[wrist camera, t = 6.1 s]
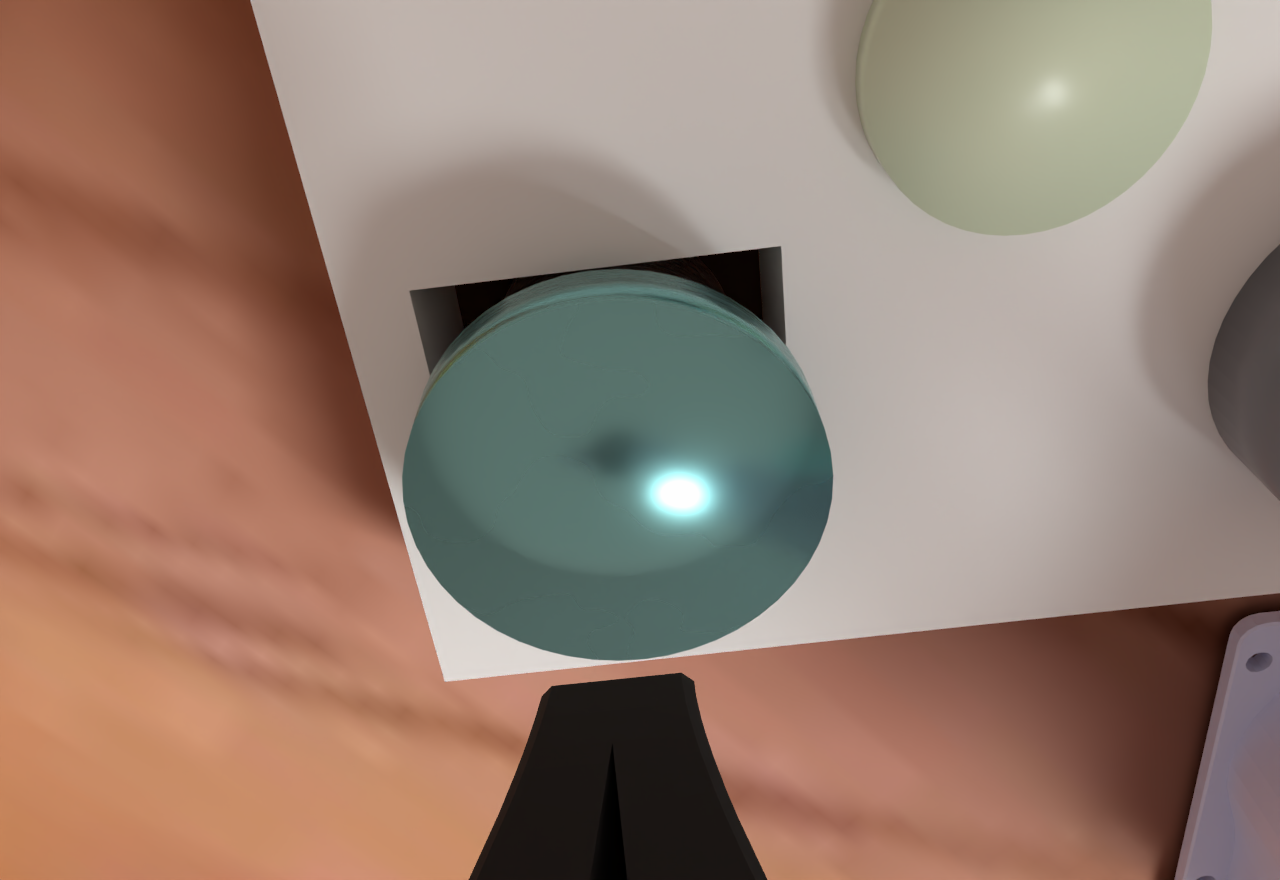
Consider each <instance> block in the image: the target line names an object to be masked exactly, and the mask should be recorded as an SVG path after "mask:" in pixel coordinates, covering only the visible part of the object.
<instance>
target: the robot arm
mask: <svg viewBox="0 0 1280 880" xmlns="http://www.w3.org/2000/svg"><path fill="white" fill-rule="evenodd" d="M1254 654H1257V655H1255V656H1254V657H1252V656H1253V655H1254ZM1250 657H1251V658H1250ZM469 880H767V878H766V876H765V874H764V872H763V870H762V867H761V865H760V863H759V861H758V859H757V857H756V855H755V853H754V850H753V848H752V846H751V844H750V842H749V840H748V838H747V836H746V834H745V831H744V829H743V827H742V825H741V823H740V821H739V819H738V817H737V814H736V812H735V810H734V807H733V805H732V803H731V800H730V798H729V796H728V793H727V791H726V788H725V786H724V783H723V780H722V778H721V775H720V773H719V770H718V767H717V765H716V762H715V760H714V757H713V754H712V751H711V748H710V745H709V742H708V739H707V736H706V733H705V730H704V726H703V723H702V720H701V715H700V711H699V707H698V703H697V698H696V693H695V685H694V681H693V680H691V679H690V678H688V677H687V676H685V675H684V674H682V673H675V674H665V675H655V676H646V677H636V678H626V679H616V680H607V681H597V682H587V683H578V684H568V685H558V686H552V687H551V688H550V689H549V690H548V691H547V692H546V693H545V694H544V695H543V696H542V698H541V701H540V704H539V708H538V711H537V715H536V718H535V721H534V724H533V727H532V730H531V733H530V735H529V738H528V741H527V744H526V747H525V750H524V752H523V755H522V758H521V760H520V763H519V766H518V768H517V771H516V773H515V776H514V778H513V781H512V783H511V786H510V788H509V790H508V793H507V795H506V798H505V800H504V803H503V805H502V808H501V810H500V812H499V815H498V817H497V819H496V821H495V824H494V826H493V828H492V830H491V832H490V834H489V837H488V839H487V841H486V843H485V845H484V848H483V850H482V852H481V854H480V856H479V859H478V861H477V863H476V865H475V867H474V870H473V872H472V874H471V876H470V878H469ZM1174 880H1280V611H1274V612H1264V613H1257V614H1253V615H1249V616H1247V617H1245V618H1243V619H1241V620H1240V621H1239V622H1238V623H1237V624H1236V625H1235V626H1234V627H1233V629H1232V631H1231V633H1230V635H1229V640H1228V644H1227V648H1226V653H1225V657H1224V662H1223V666H1222V671H1221V675H1220V679H1219V684H1218V688H1217V693H1216V697H1215V702H1214V706H1213V711H1212V715H1211V719H1210V724H1209V728H1208V733H1207V737H1206V742H1205V746H1204V750H1203V755H1202V759H1201V764H1200V768H1199V773H1198V777H1197V782H1196V786H1195V790H1194V795H1193V799H1192V804H1191V808H1190V813H1189V817H1188V822H1187V826H1186V830H1185V835H1184V839H1183V844H1182V848H1181V853H1180V857H1179V861H1178V866H1177V870H1176V875H1175V879H1174Z"/></svg>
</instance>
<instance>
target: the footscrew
mask: <svg viewBox="0 0 1280 880" xmlns="http://www.w3.org/2000/svg"><path fill="white" fill-rule="evenodd" d="M402 488H403V503H404V508H405V513H406V518H407V523H408V526H409V528H410V531H411V534H412V537H413V539H414V542H415V545H416V547H417V549H418V551H419V552H420V554H421V556H422V558H423V560H424V562H425V564H426V565H427V567H428V568H429V570H430V571H431V572H432V574H433V575H434V576H435V578H436V579H437V581H438V582H439V583H440V585H441V586H442V587H443V588H444V589H445V590H446V591H447V592H448V593H449V594H450V595H451V596H452V597H453V598H454V599H455V600H456V601H457V602H458V603H459V604H460V605H461V606H463V607H464V608H465V609H466V610H467V611H469V612H470V613H471V614H472V615H474V616H475V617H476V618H478V619H479V620H481V621H482V622H484V623H486V624H487V625H489V626H490V627H492V628H493V629H495V630H497V631H498V632H501V633H503V634H505V635H507V636H509V637H511V638H513V639H515V640H517V641H519V642H522V643H525V644H527V645H530V646H533V647H536V648H538V649H541V650H545V651H549V652H553V653H557V654H561V655H565V656H570V657H577V658H584V659H591V660H612V661H623V660H640V659H649V658H655V657H661V656H668V655H672V654H676V653H679V652H683V651H687V650H691V649H694V648H697V647H700V646H702V645H705V644H708V643H710V642H713V641H716V640H718V639H720V638H722V637H724V636H726V635H728V634H730V633H732V632H734V631H736V630H738V629H739V628H741V627H743V626H744V625H746V624H747V623H749V622H750V621H752V620H753V619H755V618H756V617H758V616H759V615H761V614H762V613H763V612H764V611H766V610H767V609H768V608H769V607H770V606H772V605H773V604H774V603H775V602H776V601H778V600H779V599H780V598H781V596H782V595H783V594H784V593H785V592H786V591H787V590H788V589H789V588H790V587H791V586H792V585H793V584H794V583H795V581H796V580H797V579H798V577H799V576H800V575H801V573H802V572H803V570H804V569H805V568H806V566H807V565H808V563H809V562H810V560H811V558H812V556H813V554H814V552H815V551H816V549H817V547H818V545H819V543H820V540H821V538H822V535H823V532H824V529H825V527H826V524H827V521H828V516H829V511H830V507H831V502H832V492H833V468H832V458H831V451H830V447H829V443H828V440H827V436H826V432H825V428H824V426H823V423H822V420H821V417H820V414H819V411H818V409H817V406H816V403H815V400H814V397H813V394H812V391H811V389H810V387H809V385H808V382H807V380H806V378H805V376H804V373H803V371H802V369H801V367H800V366H799V364H798V363H797V361H796V360H795V358H794V356H793V355H792V353H791V352H790V350H789V349H788V347H787V346H786V345H785V344H784V343H783V342H782V340H781V339H780V338H779V337H778V336H777V335H776V334H775V332H774V331H773V330H772V329H771V328H770V327H769V326H767V325H766V324H765V323H764V322H763V321H762V320H761V319H759V318H758V317H757V316H756V315H755V314H754V313H752V312H751V311H750V310H748V309H747V308H745V307H743V306H742V305H740V304H739V303H737V302H736V301H734V300H733V299H731V298H730V297H728V296H726V295H725V293H724V291H723V289H722V287H721V285H720V283H719V282H718V280H717V279H716V277H715V276H714V274H713V273H712V272H711V271H710V270H709V268H708V267H707V266H706V265H705V264H704V263H703V262H702V261H701V260H700V259H699V258H698V257H697V256H694V257H686V258H677V259H669V260H661V261H652V262H644V263H636V264H627V265H619V266H610V267H602V268H594V269H585V270H577V271H569V272H560V273H552V274H544V275H535V276H527V277H519V278H515V279H514V281H513V282H512V284H511V285H510V287H509V290H508V292H507V294H506V296H505V298H504V300H502V301H500V302H499V303H497V304H496V305H494V306H493V307H491V308H489V309H488V310H486V311H485V312H484V313H482V314H481V315H480V316H479V317H478V318H476V319H475V320H474V321H473V322H472V323H471V324H469V325H468V326H467V327H466V328H465V329H464V330H463V331H462V332H461V333H460V334H459V335H458V337H457V338H456V339H455V340H454V341H453V342H452V343H451V344H450V346H449V347H448V348H447V349H446V351H445V352H444V354H443V355H442V357H441V358H440V360H439V361H438V363H437V364H436V366H435V368H434V369H433V371H432V374H431V376H430V378H429V380H428V382H427V384H426V387H425V389H424V391H423V394H422V397H421V401H420V404H419V407H418V410H417V413H416V417H415V420H414V423H413V426H412V429H411V433H410V436H409V440H408V443H407V447H406V450H405V456H404V464H403V473H402Z"/></svg>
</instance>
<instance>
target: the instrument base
mask: <svg viewBox="0 0 1280 880" xmlns="http://www.w3.org/2000/svg"><path fill="white" fill-rule="evenodd" d="M250 1H251V5H252V8H253V12H254V15H255V19H256V22H257V26H258V29H259V33H260V36H261V40H262V43H263V47H264V50H265V54H266V57H267V61H268V64H269V68H270V71H271V75H272V78H273V82H274V85H275V89H276V92H277V96H278V99H279V103H280V106H281V110H282V113H283V117H284V120H285V124H286V127H287V131H288V134H289V138H290V141H291V145H292V148H293V152H294V155H295V159H296V162H297V166H298V169H299V173H300V176H301V180H302V183H303V187H304V190H305V194H306V197H307V201H308V204H309V208H310V211H311V215H312V218H313V222H314V225H315V229H316V232H317V236H318V239H319V243H320V246H321V250H322V253H323V257H324V260H325V264H326V267H327V271H328V274H329V278H330V281H331V285H332V288H333V292H334V295H335V299H336V302H337V306H338V309H339V313H340V316H341V320H342V323H343V327H344V330H345V334H346V337H347V341H348V344H349V348H350V351H351V355H352V358H353V362H354V365H355V369H356V372H357V376H358V379H359V383H360V386H361V390H362V393H363V397H364V400H365V404H366V407H367V411H368V414H369V418H370V421H371V425H372V428H373V432H374V435H375V439H376V442H377V446H378V449H379V453H380V456H381V460H382V463H383V467H384V470H385V474H386V477H387V481H388V484H389V488H390V491H391V495H392V498H393V502H394V505H395V509H396V512H397V516H398V519H399V523H400V526H401V530H402V533H403V537H404V540H405V544H406V547H407V551H408V554H409V558H410V561H411V565H412V568H413V572H414V575H415V579H416V582H417V586H418V589H419V593H420V596H421V600H422V603H423V607H424V610H425V614H426V617H427V621H428V624H429V628H430V631H431V635H432V638H433V642H434V645H435V649H436V652H437V656H438V659H439V663H440V666H441V670H442V673H443V677H444V680H445V682H447V681H456V680H466V679H475V678H485V677H494V676H503V675H513V674H522V673H532V672H541V671H550V670H560V669H569V668H579V667H588V666H597V665H607V664H616V663H626V662H635V661H645V660H654V659H663V658H673V657H682V656H692V655H701V654H710V653H720V652H729V651H739V650H748V649H757V648H767V647H776V646H786V645H795V644H805V643H814V642H823V641H833V640H842V639H852V638H861V637H870V636H880V635H889V634H899V633H908V632H917V631H927V630H936V629H946V628H955V627H965V626H974V625H983V624H993V623H1002V622H1012V621H1021V620H1030V619H1040V618H1049V617H1059V616H1068V615H1077V614H1087V613H1096V612H1106V611H1115V610H1125V609H1134V608H1143V607H1153V606H1162V605H1172V604H1181V603H1190V602H1200V601H1209V600H1219V599H1228V598H1237V597H1247V596H1256V595H1266V594H1275V593H1280V0H250ZM752 249H758V251H759V267H760V284H761V300H762V316H763V322H764V323H765V324H766V325H767V326H769V327H770V328H771V329H772V330H773V331H774V332H775V334H776V335H777V336H778V337H779V338H780V339H781V340H782V342H783V343H784V344H785V345H786V346H787V347H788V349H789V350H790V352H791V353H792V355H793V356H794V358H795V360H796V361H797V363H798V364H799V366H800V367H801V369H802V371H803V373H804V376H805V378H806V380H807V382H808V385H809V387H810V389H811V391H812V394H813V397H814V400H815V403H816V406H817V409H818V411H819V414H820V417H821V420H822V423H823V426H824V428H825V432H826V436H827V440H828V443H829V447H830V451H831V458H832V468H833V492H832V502H831V507H830V511H829V516H828V521H827V524H826V527H825V529H824V532H823V535H822V538H821V540H820V543H819V545H818V547H817V549H816V551H815V552H814V554H813V556H812V558H811V560H810V562H809V563H808V565H807V566H806V568H805V569H804V570H803V572H802V573H801V575H800V576H799V577H798V579H797V580H796V581H795V583H794V584H793V585H792V586H791V587H790V588H789V589H788V590H787V591H786V592H785V593H784V594H783V595H782V596H781V598H780V599H779V600H778V601H776V602H775V603H774V604H773V605H772V606H770V607H769V608H768V609H767V610H766V611H764V612H763V613H762V614H761V615H759V616H758V617H756V618H755V619H753V620H752V621H750V622H749V623H747V624H746V625H744V626H743V627H741V628H739V629H738V630H736V631H734V632H732V633H730V634H728V635H726V636H724V637H722V638H720V639H718V640H716V641H713V642H710V643H708V644H705V645H702V646H700V647H697V648H694V649H691V650H687V651H683V652H679V653H676V654H672V655H668V656H661V657H655V658H649V659H640V660H623V661H612V660H591V659H584V658H577V657H570V656H565V655H561V654H557V653H553V652H549V651H545V650H541V649H538V648H536V647H533V646H530V645H527V644H525V643H522V642H519V641H517V640H515V639H513V638H511V637H509V636H507V635H505V634H503V633H501V632H498V631H497V630H495V629H493V628H492V627H490V626H489V625H487V624H486V623H484V622H482V621H481V620H479V619H478V618H476V617H475V616H474V615H472V614H471V613H470V612H469V611H467V610H466V609H465V608H464V607H463V606H461V605H460V604H459V603H458V602H457V601H456V600H455V599H454V598H453V597H452V596H451V595H450V594H449V593H448V592H447V591H446V590H445V589H444V588H443V587H442V586H441V585H440V583H439V582H438V581H437V579H436V578H435V576H434V575H433V574H432V572H431V571H430V570H429V568H428V567H427V565H426V564H425V562H424V560H423V558H422V556H421V554H420V552H419V551H418V549H417V547H416V545H415V542H414V539H413V537H412V534H411V531H410V528H409V526H408V523H407V518H406V513H405V508H404V503H403V488H402V473H403V464H404V456H405V450H406V447H407V443H408V440H409V436H410V433H411V429H412V426H413V423H414V420H415V417H416V413H417V410H418V407H419V404H420V401H421V397H422V394H423V391H424V389H425V387H426V384H427V382H428V380H429V378H430V376H431V374H432V371H433V369H434V368H435V366H436V364H437V363H438V361H439V360H440V358H441V357H442V355H443V354H444V352H445V351H446V349H447V348H448V347H449V346H450V344H451V343H452V342H453V341H454V340H455V339H456V338H457V337H458V335H459V334H460V333H461V332H462V331H463V330H464V326H463V321H462V317H461V312H460V308H459V303H458V299H457V294H456V289H455V285H460V284H469V283H477V282H485V281H494V280H502V279H510V278H519V277H527V276H535V275H544V274H552V273H560V272H569V271H577V270H585V269H594V268H602V267H610V266H619V265H627V264H636V263H644V262H652V261H661V260H669V259H677V258H686V257H694V256H702V255H711V254H719V253H727V252H736V251H744V250H752Z"/></svg>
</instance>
